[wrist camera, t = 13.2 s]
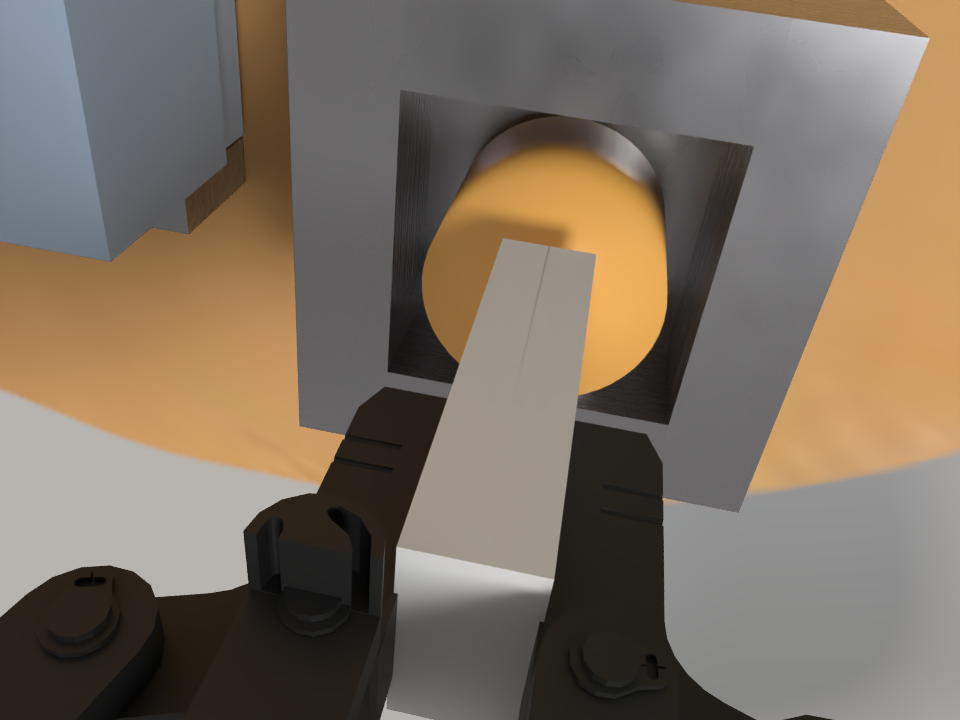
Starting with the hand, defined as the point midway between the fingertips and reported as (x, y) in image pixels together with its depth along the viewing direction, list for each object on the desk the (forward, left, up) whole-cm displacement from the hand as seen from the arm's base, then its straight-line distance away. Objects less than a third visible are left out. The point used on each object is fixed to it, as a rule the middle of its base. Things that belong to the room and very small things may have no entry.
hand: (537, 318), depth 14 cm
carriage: (-1, -13, -12) cm, 18 cm away
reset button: (0, 0, -5) cm, 5 cm away
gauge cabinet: (0, 0, -12) cm, 12 cm away
